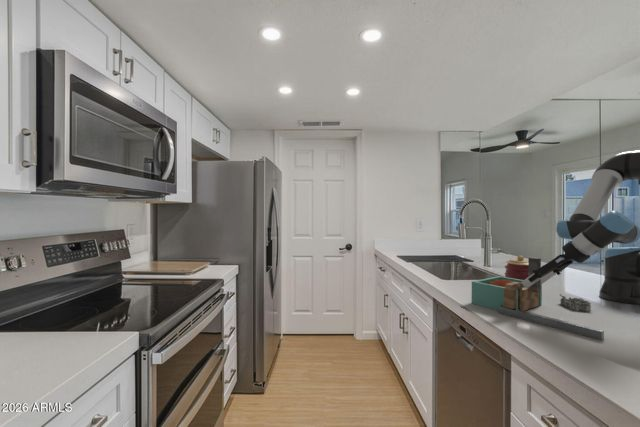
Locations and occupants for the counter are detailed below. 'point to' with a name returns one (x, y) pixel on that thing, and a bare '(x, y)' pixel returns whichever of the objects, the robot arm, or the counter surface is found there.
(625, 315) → the counter surface
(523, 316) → the rail
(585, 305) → the egg carton
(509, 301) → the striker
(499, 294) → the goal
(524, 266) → the canister
